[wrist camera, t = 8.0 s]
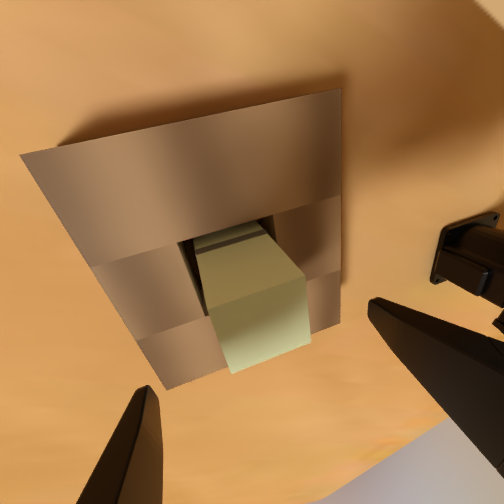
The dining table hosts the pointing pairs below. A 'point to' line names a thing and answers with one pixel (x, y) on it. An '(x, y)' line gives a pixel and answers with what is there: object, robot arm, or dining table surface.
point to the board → (201, 214)
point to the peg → (252, 294)
